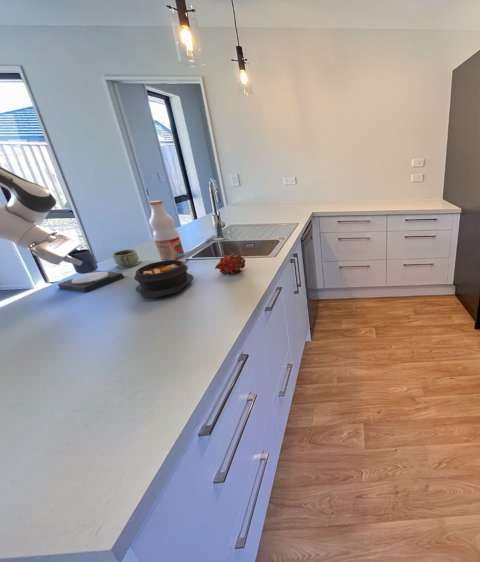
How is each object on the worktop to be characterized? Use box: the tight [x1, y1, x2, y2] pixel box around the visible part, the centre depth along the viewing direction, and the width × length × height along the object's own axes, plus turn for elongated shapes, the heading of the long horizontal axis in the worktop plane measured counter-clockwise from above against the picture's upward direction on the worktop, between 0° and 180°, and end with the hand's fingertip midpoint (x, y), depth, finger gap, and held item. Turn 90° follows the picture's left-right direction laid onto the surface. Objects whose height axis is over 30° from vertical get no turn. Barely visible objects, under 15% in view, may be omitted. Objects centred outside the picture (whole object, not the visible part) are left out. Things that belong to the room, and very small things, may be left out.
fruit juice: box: [148, 200, 187, 264], centre depth 132 cm, size 9×9×28 cm
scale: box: [57, 269, 124, 293], centre depth 118 cm, size 14×14×3 cm
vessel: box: [111, 248, 140, 269], centre depth 136 cm, size 12×9×6 cm
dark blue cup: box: [68, 248, 99, 275], centre depth 115 cm, size 6×6×8 cm
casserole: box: [133, 260, 194, 299], centre depth 112 cm, size 25×19×8 cm
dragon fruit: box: [214, 253, 246, 275], centre depth 125 cm, size 8×8×12 cm
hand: (85, 260), depth 115 cm, fingers closed on dark blue cup, 6 cm apart
